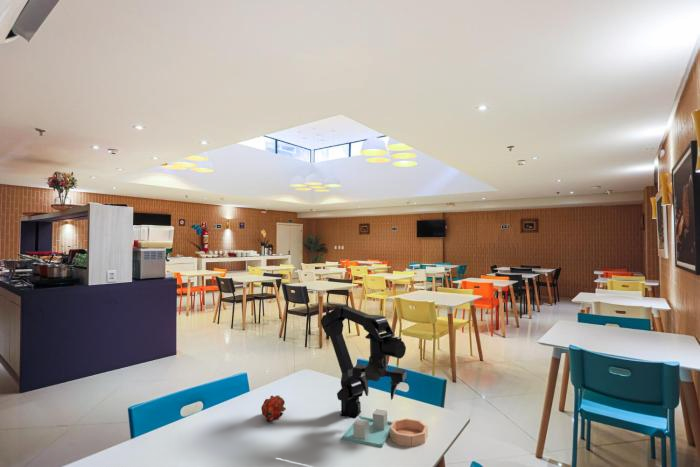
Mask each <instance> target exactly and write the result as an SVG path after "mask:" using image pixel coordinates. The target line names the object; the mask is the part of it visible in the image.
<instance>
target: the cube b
mask: <svg viewBox="0 0 700 467" xmlns="http://www.w3.org/2000/svg"><path fill="white" fill-rule="evenodd" d="M372 418H373V428H374V429H379V430H385V428H386V427H387V421H388V410H386V409H385V410H384V409H377V408H376V409H375V410H374V411H373V412H372Z"/></svg>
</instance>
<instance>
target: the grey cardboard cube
mask: <svg viewBox="0 0 700 467" xmlns="http://www.w3.org/2000/svg"><path fill="white" fill-rule="evenodd" d="M352 424H353V431H354V438H357V439H362V440H366V439H367V438H368V437H369V420H365V419H359V418H358V419H357V418H356V419H355V421H354V422H352Z"/></svg>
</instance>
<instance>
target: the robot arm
mask: <svg viewBox="0 0 700 467" xmlns="http://www.w3.org/2000/svg"><path fill="white" fill-rule="evenodd" d="M345 320H348V321H350V322H352V323H355V324H357V325H359V326H361V327H363V330H364V331H365V332H367V334H366V335H365V336H364V337H365V339H367V340H369V351H370V352H369V354H370V355H369V357H368V363H367V364H360V363H357V364H356V365H355V366H354V365H353V361H352V359H351V356H350V352H349V350H348V347H347V343H346V340H345V338H344V335H343V330H344V322H345ZM320 325H321V327H322V330H323V332H324V333H325V334H326V335H327V336H328V337H329V338H330V340H331V343H332V347H333V350H334V353H335V357H336V359H337V363H338V366H339V368H340V372H341V379H340V387H341V389H339V390H338V391H337V393H336V398H337V400H338V401H340V407H341V408H340V409H341V410H340V412H341V413H340V414H339V417H343V418H349V419H357V417H359V416H360V414H361V413H362V410H361V408H362V407H361V405H362V404H361V401H360V397H363V394H365V396H366V397H368V396H369V381H373V382H378V381H380V378H385V377H389V378H390V379H391V381H390V400H391V401H392V400H393V399H394V396H395V393H396V390H397V387H398V385H400V383H403V382H404V381H405V379H407V371H406V370H405V368H397V367H395V368H394V369H393V370H388V366H389V365H387V364H388V363H387V360H388V357H393V358H396V359H403V358H404V356H405V354H406V351H407V346H406V345H405V342H404V341H403V340H402V337H401V336H395V335H396V334H395V332H394V331H393V329H392V326H391V325H390V323H389V322H388V319H387V317H386V316H384V315H379V314H368V313H366V312H363V311H361V310H359V309H356V308H354V307H351V306H349V305H348V304H343V305H338V306H336V307H335V308H334V309H333V310H331V311H329V312H328V313H326V314H323V315H322V317H321V319H320Z"/></svg>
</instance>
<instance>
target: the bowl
mask: <svg viewBox="0 0 700 467" xmlns="http://www.w3.org/2000/svg"><path fill="white" fill-rule="evenodd" d="M392 422H393V423H392V424H391V426H390V436H389V438H390V439H391V440H392V441H393V442H395V444H396V445H401V446H405V447H410V448H411V447H416V446H420V445H424V444H426V442H427V439H428V437H429V435H428V434H429V432H428V428H429V427H428V426H427V424H425V423H424V422H423V421H422V420H419V419H414V418H406V417H405V418H401V419H400V418H399V419H396V420H393V421H392Z"/></svg>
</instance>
